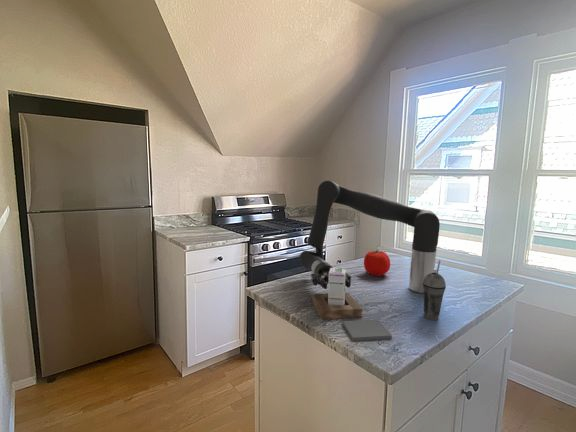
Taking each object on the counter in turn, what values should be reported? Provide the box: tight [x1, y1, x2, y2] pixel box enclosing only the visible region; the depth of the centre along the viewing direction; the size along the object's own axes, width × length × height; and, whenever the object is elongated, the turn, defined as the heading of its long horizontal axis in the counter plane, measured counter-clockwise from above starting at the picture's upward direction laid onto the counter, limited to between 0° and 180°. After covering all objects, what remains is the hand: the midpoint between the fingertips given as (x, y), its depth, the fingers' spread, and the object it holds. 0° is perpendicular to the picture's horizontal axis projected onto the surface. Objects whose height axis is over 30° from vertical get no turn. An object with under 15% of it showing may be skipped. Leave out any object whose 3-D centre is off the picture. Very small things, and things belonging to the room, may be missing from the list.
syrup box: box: [327, 267, 347, 306], centre depth 113 cm, size 6×6×14 cm
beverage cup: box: [423, 260, 447, 321], centre depth 108 cm, size 7×7×20 cm
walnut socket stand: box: [312, 292, 363, 320], centre depth 113 cm, size 14×14×3 cm
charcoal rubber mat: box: [342, 319, 393, 342], centre depth 99 cm, size 12×10×1 cm
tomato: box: [363, 249, 391, 277], centre depth 151 cm, size 12×13×12 cm
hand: (337, 285), depth 112 cm, fingers open, 8 cm apart
